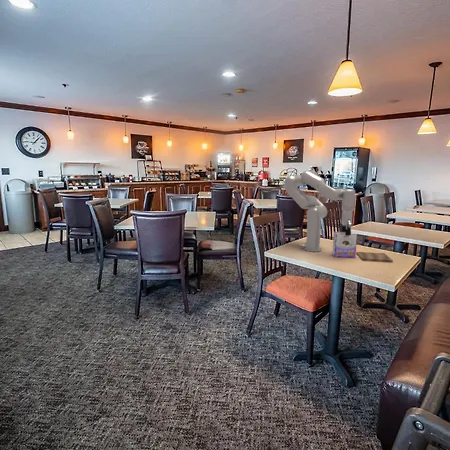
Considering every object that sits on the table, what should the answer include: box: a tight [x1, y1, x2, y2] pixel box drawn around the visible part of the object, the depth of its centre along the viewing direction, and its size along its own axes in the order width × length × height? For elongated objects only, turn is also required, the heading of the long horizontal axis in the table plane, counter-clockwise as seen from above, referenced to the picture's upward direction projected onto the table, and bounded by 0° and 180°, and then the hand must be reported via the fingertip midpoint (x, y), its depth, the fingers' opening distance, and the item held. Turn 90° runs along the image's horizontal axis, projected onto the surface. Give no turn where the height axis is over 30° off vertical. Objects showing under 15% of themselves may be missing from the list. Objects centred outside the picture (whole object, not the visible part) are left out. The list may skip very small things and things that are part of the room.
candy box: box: [331, 231, 358, 258], centre depth 200 cm, size 14×6×16 cm, turn 84°
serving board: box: [356, 251, 393, 263], centre depth 198 cm, size 18×16×2 cm
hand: (346, 233), depth 199 cm, fingers open, 9 cm apart
